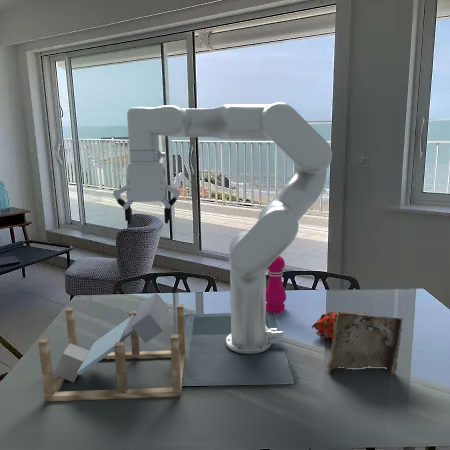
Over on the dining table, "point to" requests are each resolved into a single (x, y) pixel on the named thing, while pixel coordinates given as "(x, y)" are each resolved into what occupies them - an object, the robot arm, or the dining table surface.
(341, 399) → the dining table surface
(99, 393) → the frame
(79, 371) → the trapdoor
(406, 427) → the dining table surface
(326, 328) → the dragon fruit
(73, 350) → the light grey block
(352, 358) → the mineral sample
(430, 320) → the dining table surface
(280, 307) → the pepper mill
